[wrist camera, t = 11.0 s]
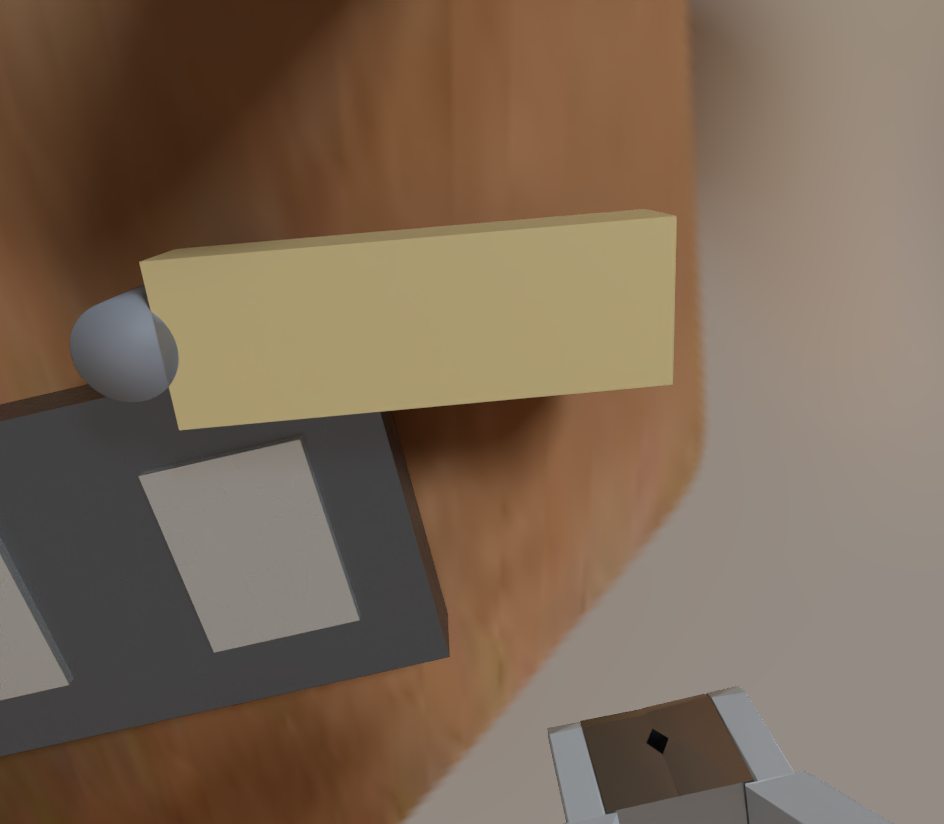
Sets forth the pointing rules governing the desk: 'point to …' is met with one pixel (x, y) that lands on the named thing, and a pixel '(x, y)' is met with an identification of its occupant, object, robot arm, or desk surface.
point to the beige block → (391, 319)
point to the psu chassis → (198, 563)
